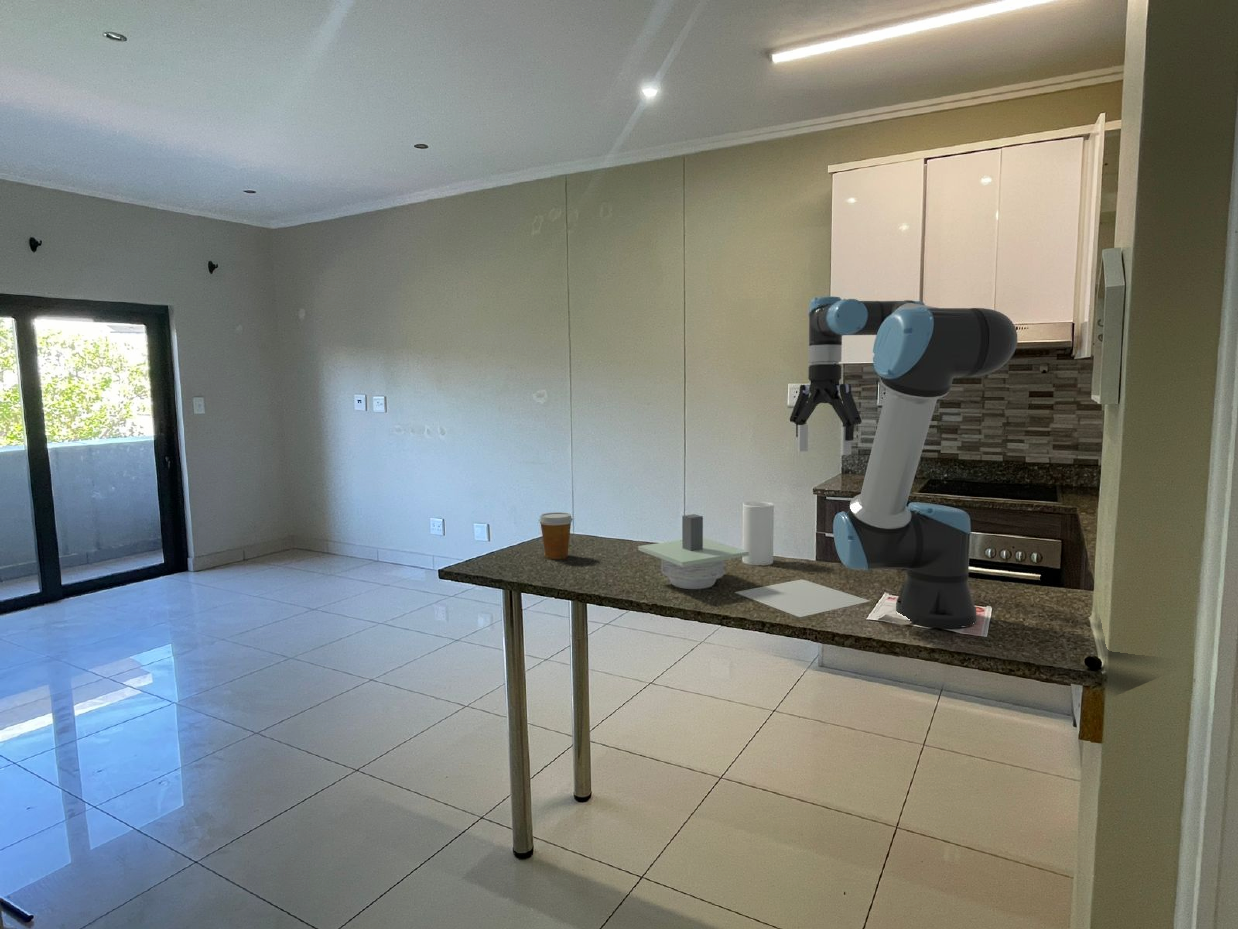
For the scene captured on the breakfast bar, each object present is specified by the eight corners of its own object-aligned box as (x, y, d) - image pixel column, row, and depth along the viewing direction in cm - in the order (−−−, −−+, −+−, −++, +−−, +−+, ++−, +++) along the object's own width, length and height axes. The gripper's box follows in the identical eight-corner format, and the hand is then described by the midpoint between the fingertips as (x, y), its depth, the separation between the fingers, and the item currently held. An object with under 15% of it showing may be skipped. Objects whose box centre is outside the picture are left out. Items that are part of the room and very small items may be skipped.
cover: (748, 555, 168) (749, 518, 167) (682, 566, 159) (682, 526, 158) (701, 541, 185) (701, 506, 184) (638, 550, 175) (638, 513, 174)
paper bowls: (734, 582, 174) (735, 550, 174) (706, 597, 162) (706, 563, 161) (680, 573, 183) (680, 543, 182) (649, 587, 171) (648, 555, 170)
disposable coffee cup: (539, 553, 207) (538, 512, 206) (572, 552, 208) (571, 511, 207) (539, 561, 198) (538, 518, 196) (574, 560, 199) (573, 517, 197)
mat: (870, 602, 157) (870, 601, 157) (799, 619, 146) (799, 617, 146) (802, 580, 175) (802, 579, 175) (734, 594, 164) (734, 592, 164)
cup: (775, 565, 190) (776, 506, 188) (744, 565, 190) (745, 506, 188) (769, 558, 198) (770, 501, 196) (740, 558, 198) (740, 501, 197)
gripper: (879, 361, 161) (876, 455, 163) (797, 366, 182) (796, 448, 184) (856, 361, 157) (854, 457, 159) (776, 365, 178) (775, 450, 180)
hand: (823, 453), depth 172 cm, fingers open, 13 cm apart
